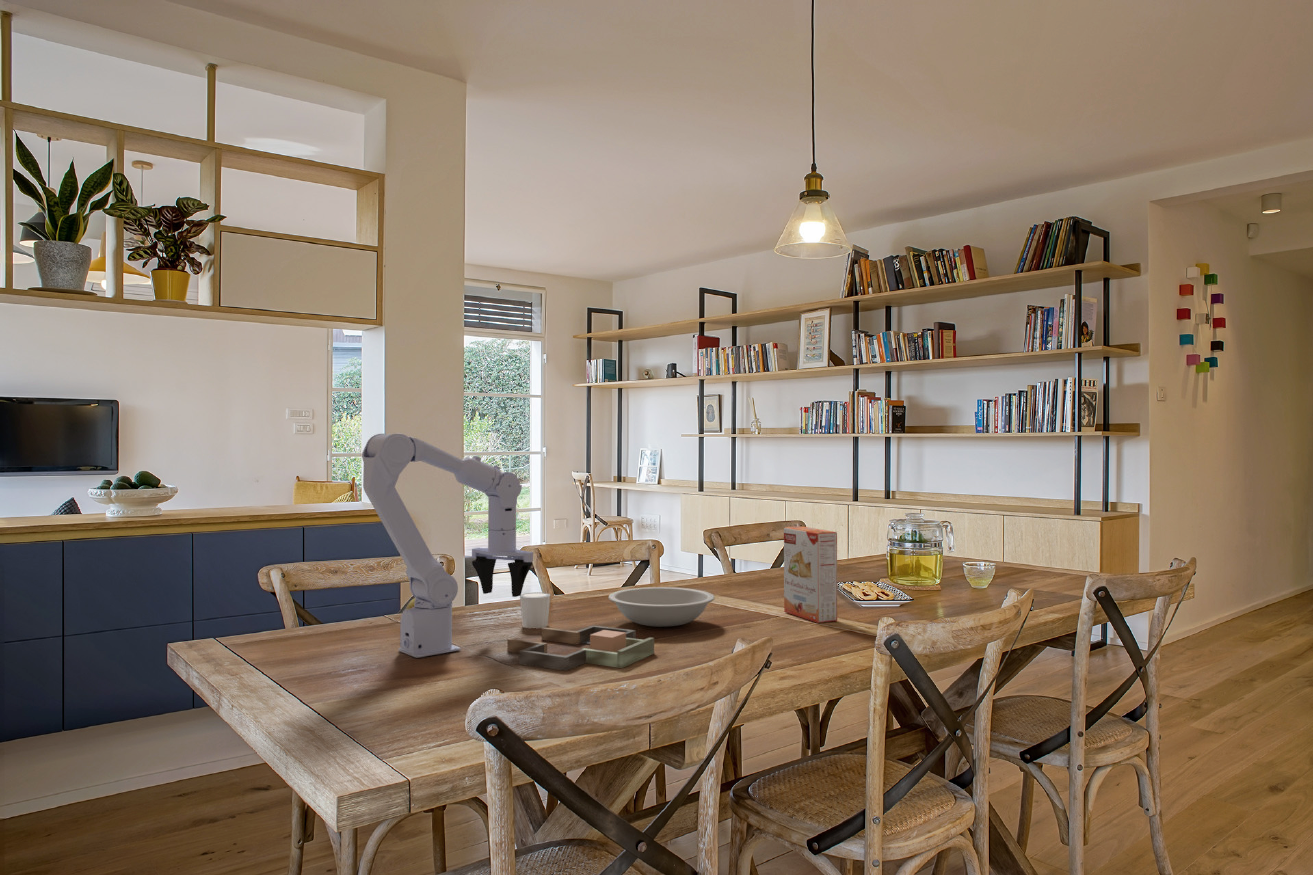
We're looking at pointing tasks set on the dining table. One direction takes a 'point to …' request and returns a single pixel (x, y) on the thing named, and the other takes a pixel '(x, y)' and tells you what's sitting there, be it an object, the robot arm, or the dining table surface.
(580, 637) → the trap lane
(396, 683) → the dining table surface
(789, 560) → the cracker box
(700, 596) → the soup bowl
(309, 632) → the dining table surface
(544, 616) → the white cup
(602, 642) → the block
